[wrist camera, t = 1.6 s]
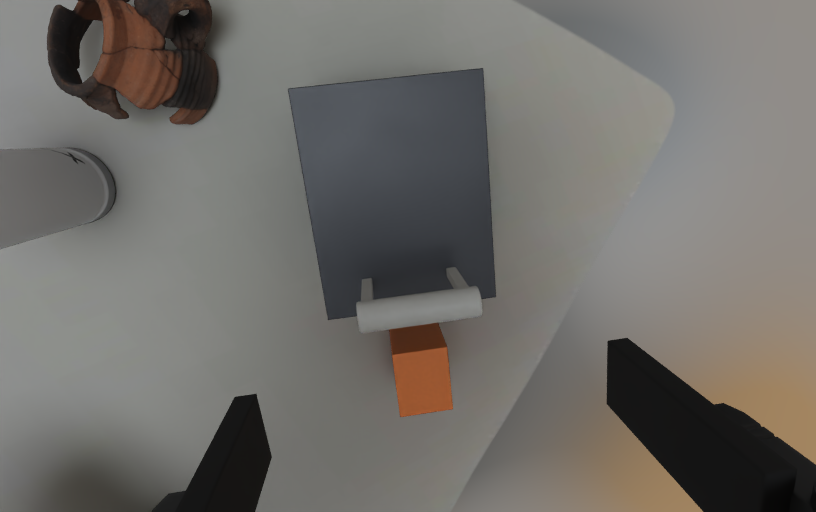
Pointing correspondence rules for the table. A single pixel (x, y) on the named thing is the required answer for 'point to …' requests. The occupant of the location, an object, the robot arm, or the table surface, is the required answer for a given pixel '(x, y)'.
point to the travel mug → (50, 192)
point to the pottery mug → (137, 55)
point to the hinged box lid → (399, 196)
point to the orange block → (421, 369)
